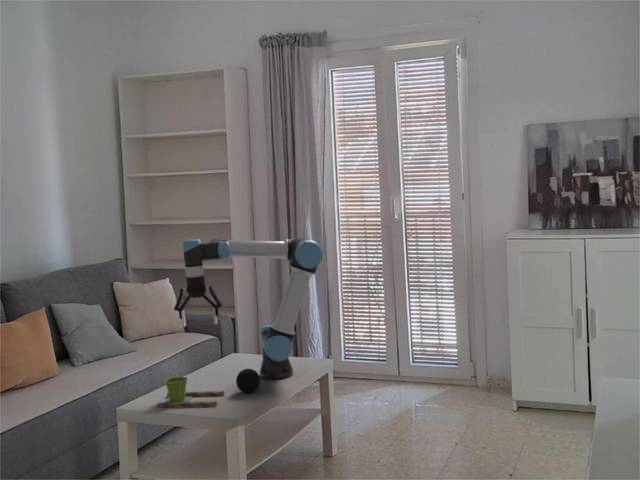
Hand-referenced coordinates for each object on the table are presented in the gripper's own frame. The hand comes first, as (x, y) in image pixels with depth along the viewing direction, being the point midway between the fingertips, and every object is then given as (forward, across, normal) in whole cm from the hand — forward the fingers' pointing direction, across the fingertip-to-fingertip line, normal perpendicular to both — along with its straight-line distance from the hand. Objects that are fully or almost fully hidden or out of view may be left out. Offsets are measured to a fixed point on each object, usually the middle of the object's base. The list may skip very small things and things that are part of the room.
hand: (200, 325), depth 314 cm
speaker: (+29, -19, +6) cm, 35 cm away
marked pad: (+28, +9, +15) cm, 33 cm away
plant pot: (+28, +9, +15) cm, 33 cm away
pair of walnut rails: (+28, +3, +15) cm, 32 cm away
